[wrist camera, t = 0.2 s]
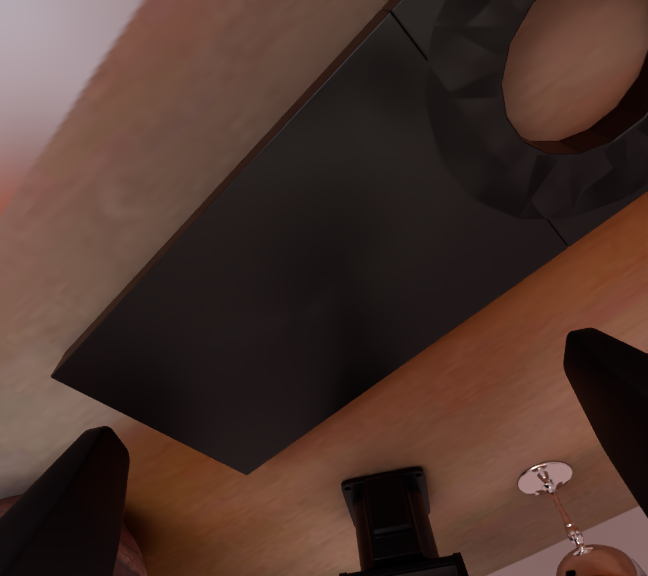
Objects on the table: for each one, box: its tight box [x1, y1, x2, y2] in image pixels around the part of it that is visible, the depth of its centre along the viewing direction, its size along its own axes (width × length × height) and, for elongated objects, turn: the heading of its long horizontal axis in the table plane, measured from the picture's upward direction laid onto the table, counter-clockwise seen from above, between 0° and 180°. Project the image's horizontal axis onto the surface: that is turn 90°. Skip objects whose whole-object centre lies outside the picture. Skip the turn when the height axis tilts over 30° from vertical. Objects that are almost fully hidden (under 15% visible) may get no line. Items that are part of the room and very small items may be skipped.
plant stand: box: [51, 0, 648, 475], centre depth 22 cm, size 36×14×2 cm, turn 134°
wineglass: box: [518, 462, 647, 576], centre depth 32 cm, size 6×6×12 cm
